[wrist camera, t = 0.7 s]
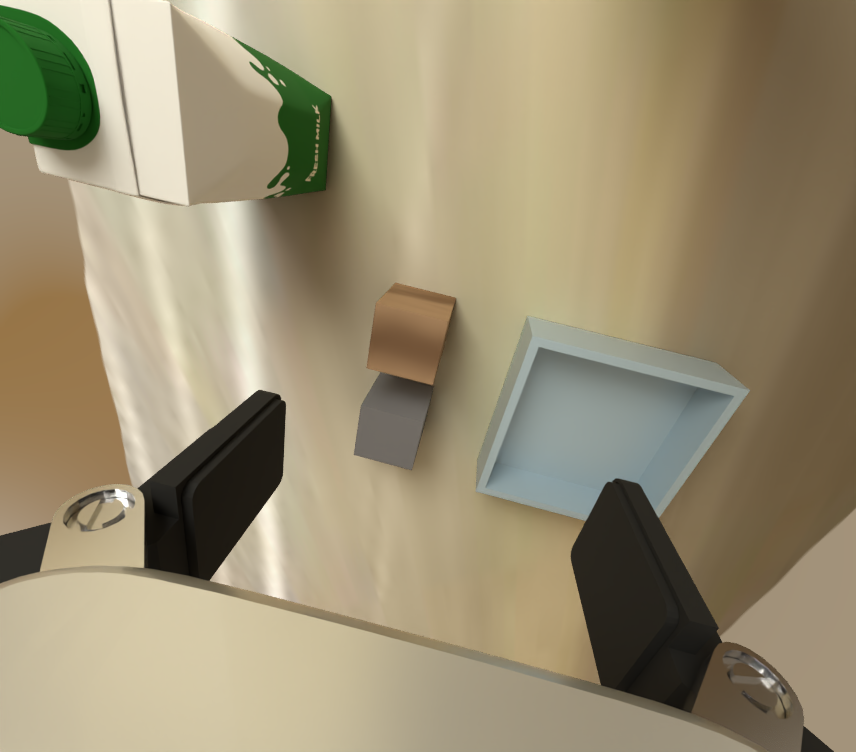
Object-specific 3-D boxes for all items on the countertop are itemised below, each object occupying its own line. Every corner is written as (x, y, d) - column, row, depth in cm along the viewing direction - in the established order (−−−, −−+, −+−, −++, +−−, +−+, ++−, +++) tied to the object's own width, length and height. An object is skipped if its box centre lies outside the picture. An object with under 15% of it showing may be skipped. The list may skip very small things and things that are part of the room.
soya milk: (236, 61, 31) (-110, -98, 13) (345, 85, 30) (140, -46, 13) (240, 182, 35) (-18, 184, 17) (336, 204, 34) (172, 229, 17)
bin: (527, 315, 36) (532, 335, 32) (716, 362, 36) (750, 390, 31) (477, 459, 45) (475, 491, 40) (629, 499, 44) (645, 536, 40)
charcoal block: (380, 372, 42) (361, 405, 36) (434, 385, 41) (423, 421, 35) (373, 416, 45) (353, 454, 38) (423, 429, 44) (411, 470, 38)
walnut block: (395, 282, 37) (375, 303, 31) (456, 297, 37) (448, 321, 31) (386, 338, 40) (366, 368, 34) (442, 353, 40) (432, 385, 33)
